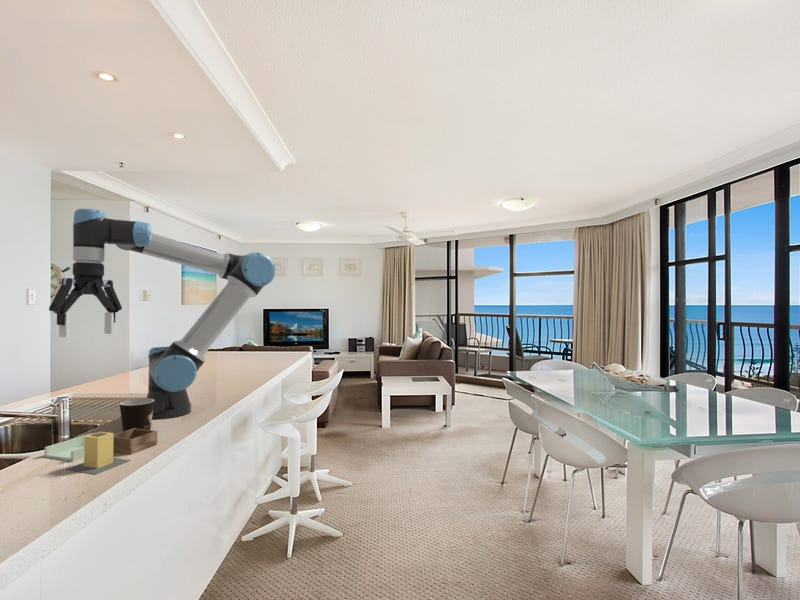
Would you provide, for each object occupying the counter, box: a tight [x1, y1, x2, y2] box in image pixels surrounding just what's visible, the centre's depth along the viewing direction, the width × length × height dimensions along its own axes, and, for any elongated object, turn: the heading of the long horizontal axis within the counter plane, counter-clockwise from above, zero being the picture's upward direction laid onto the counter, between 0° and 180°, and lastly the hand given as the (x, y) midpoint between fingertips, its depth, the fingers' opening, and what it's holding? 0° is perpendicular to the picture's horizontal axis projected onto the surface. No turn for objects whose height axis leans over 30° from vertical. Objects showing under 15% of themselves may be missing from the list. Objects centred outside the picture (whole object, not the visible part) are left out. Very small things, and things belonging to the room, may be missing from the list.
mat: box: [65, 457, 131, 476], centre depth 103 cm, size 9×9×1 cm
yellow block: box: [83, 431, 115, 469], centre depth 103 cm, size 4×4×7 cm
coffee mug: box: [119, 398, 154, 432], centre depth 127 cm, size 12×9×10 cm
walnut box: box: [113, 428, 158, 455], centre depth 116 cm, size 8×8×4 cm
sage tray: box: [44, 432, 96, 463], centre depth 112 cm, size 12×9×3 cm
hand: (87, 335), depth 128 cm, fingers open, 13 cm apart
